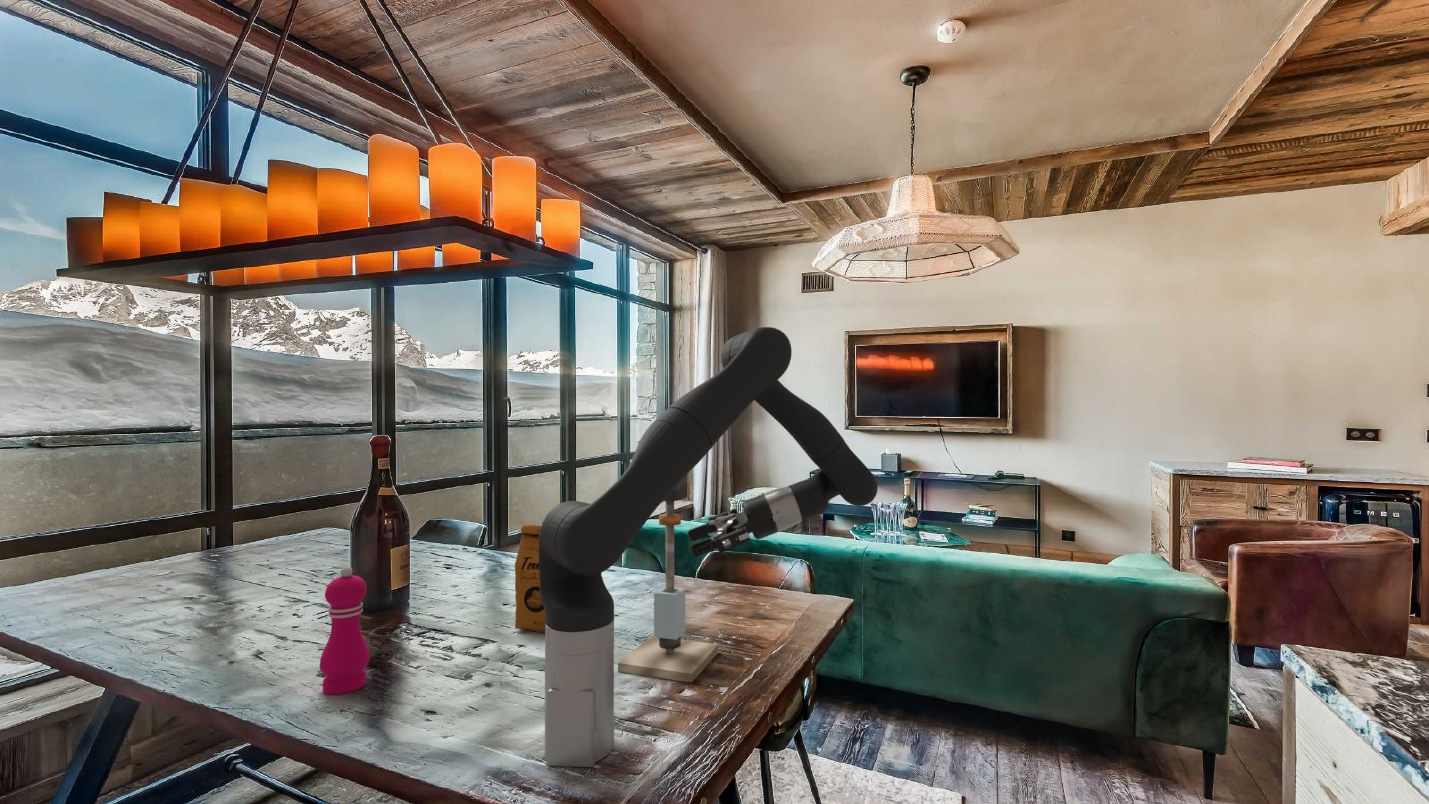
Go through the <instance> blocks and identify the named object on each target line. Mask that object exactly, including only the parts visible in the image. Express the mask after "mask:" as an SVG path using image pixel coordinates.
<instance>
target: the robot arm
mask: <svg viewBox="0 0 1429 804" xmlns="http://www.w3.org/2000/svg"><path fill="white" fill-rule="evenodd" d="M792 353H793V352H792V344H791V341H790V339H789V337H788V336H787V335H786V334H785V333H784V332H783V331H782V330H780V329H778V328H777V327H771V326H762V327H756V328H754V329H750V330H748V331H745V332H742V333H740V334H737V335H734V336H732V337H731V338H729V339H728V340H727V341H726V342H725V343H724V345H723V346H722V349H721V354H720V360H721V366H722V367H723V368H722V369H721V370H720V371H719V372H717V373H716V374H715V375H714V376H712V377H710V378H709V379H707V380H705V381H704V382H702V383H700V384H699V385H697V386H696V387H694V388H693V389H691V390H690V391H688V392H686V393H685V394H684V395H682V396H681V397H679V398H678V399H676V400H675V401H674V402H673V403H672V404H671V405H669V406H668V407H667V408H666V409H665V410H664V411H663V412H662V413H661V414H660V415H659V416H658V417H657V418H656V419H655V420H654V421H653V422H652V423H651V424H650V425H649V426H648V427H647V429H646V430H645V431H644V433H643V434H642V436H641V438H640V440H639V442H638V444H637V446H636V449H635V451H634V454H633V456H632V458H631V461H630V463H629V465H628V467H627V469H626V470H625V471H624V472H623V474H622V475H621V476H620V477H619V478H618V479H617V481H615V482H614V483H613V484H612V485H611V486H610V487H609V488H608V489H607V490H606V491H605V492H604V493H602V494H601V495H600V496H599V497H598V498H597V499H596V500H594V501H593V502H592V503H589V502H583V501H578V500H568V501H567V500H566V501H564V502H561V503H558V504H556V506H554V507H552V508H551V510H549V512H547V514H546V516H545V517H544V519H543V521H542V524H541V525H540V526H541V530H540V535H539V579H540V596H541V600H542V604H543V607H544V610H545V623H546V624H545V633H544V634H545V635H544V637H545V638H544V639H545V640H544V642H545V644H544V645H545V646H544V657H545V658H544V755H545V757H546V759H545V761H546V763H545V765H546V766H548V767H549V766H554V767H573V768H574V767H575V768H576V767H578V768H579V767H580V768H585V767H586V768H593V767H594V766H595V764H596V763H597V762H598V761H600V760H602V759H604V758H605V757H607V756H608V755H609V754H610V753H611V752H612V751H613V748H614V747H615V745H614V744H615V736H614V735H615V728H614V727H615V714H614V713H615V670H614V669H615V602H614V598H613V596H612V595H611V592H609V590H608V588H607V587H606V585H605V582H604V579H603V576H602V573H604V572H605V571H607V570H609V569H610V568H611V567H612V566H613V565H614V564H615V563H617V561H618V560H619V559H620V558H621V556H623V554H624V553H625V552H626V550H627V549H628V547H629V546H630V544H632V542H633V540H634V539H635V538H636V536H637V535H638V534H639V532H640V531H641V530H642V528H643V527H644V525H645V524H646V522H647V521H648V520H649V519H650V517H651V515H653V513H654V512H655V511H656V510H657V509H658V507H659V506H660V504H662V502H663V501H665V500H664V499H665V498H666V497H667V496H668V495H669V494H670V493H671V492H672V491H673V489H674V488H675V487H676V486H677V485H678V484H679V483H680V481H681V480H682V479H683V478H684V477H685V476H686V475H687V476H688V474H689V473H690V472H691V471H692V470H693V469H694V468H695V467H696V466H697V465H698V463H700V461H701V460H702V459H704V457H705V456H706V455H707V454H708V453H709V451H711V450H712V448H713V447H714V446H715V444H716V443H717V442H718V441H719V440H720V439H721V437H722V436H723V435H724V434H725V433H726V432H727V431H728V430H729V429H730V427H731V426H732V425H733V424H734V423H735V422H736V421H737V420H738V419H739V417H740V416H741V415H742V414H743V412H744V411H745V410H747V408H748V407H749V406H750V405H751V404H752V403H753V402H754V401H755V403H757V404H758V405H759V406H760V407H761V408H763V409H764V410H765V412H767V414H769V415H770V416H771V417H772V418H773V419H774V420H776V421H777V423H778V424H779V425H780V426H782V427H783V428H784V429H785V430H786V431H787V432H788V434H789V435H790V436H791V437H792V438H793V439H794V440H795V442H797V444H798V446H800V448H801V449H802V450H803V452H805V454H806V455H807V457H809V459H810V460H811V461H812V462H813V464H815V465H816V467H817V468H819V469H820V470H818V471H817V472H815V473H814V474H813V475H811V476H810V477H809V478H807V479H804V480H800V481H798V482H796V483H793V484H790V485H787V486H783V487H779V488H775V489H772V490H771V491H767V492H765V493H762V494H759V495H757V496H755V497H752V498H749V499H746V500H744V501H742V503H741V504H742V505H741V506H742V509H743V511H742V512H738V510H737V508H732V509H729V510H727V511H723V512H721V513H718V514H716V515H713V516H710V517H708V518H707V520H706V521H705V523H703V524H701V525H699V526H696V527H692V528H690V529H688V531H687V534H688V537H689V539H690V540H689V541H691V542H693V543H692V544H691V545H690V549H691V552H692V555H693V556H694V557H699V556H701V555H705V554H706V553H709V552H712V551H715V552H718V553H719V554H722V553H724V552H727V551H730V550H733V549H735V548H737V547H739V546H742V545H744V544H747V543H749V542H751V537H750V534H752V535H753V538H754V539H755V540H761V539H763V538H766V537H769V536H772V535H774V534H777V533H780V532H783V531H784V530H787V529H790V528H792V527H794V526H795V525H797V524H799V523H802V522H804V521H807V520H810V519H812V518H815V517H817V516H819V515H822V514H824V513H825V512H827V510H828V508H829V501H830V500H833V498H836V497H837V496H841V498H842V499H843V500H844V501H846V502H847V503H848V504H850V505H852V506H856V507H863V506H867V505H869V504H870V503H872V502H873V501H874V499H875V498H876V496H877V494H878V490H879V489H878V487H879V486H878V482H877V479H876V477H875V476H874V474H873V473H872V471H871V470H870V469H869V468H868V466H866V465H865V464H864V462H863V461H862V460H861V459H860V458H859V457H858V455H856V454H855V453H854V452H853V450H852V449H851V448H850V446H849V445H848V444H847V443H846V440H844V437H843V436H842V435H841V434H840V432H839V431H838V429H836V427H835V426H834V425H833V424H832V422H831V421H830V420H829V419H828V418H827V416H826V415H824V414H823V413H822V412H821V411H820V410H818V409H817V408H816V407H814V406H812V405H811V404H809V403H808V402H807V401H805V400H803V399H802V398H800V397H799V396H798V395H796V394H795V393H793V392H792V391H791V390H790V389H788V388H787V387H785V385H783V383H782V382H780V380H779V379H780V378H781V377H782V376H783V375H784V374H785V373H786V372H787V369H788V368H789V366H790V363H791V361H792ZM710 535H712V536H710ZM709 536H710V537H709ZM706 537H707V538H706ZM704 538H705V539H704ZM701 539H702V540H701ZM698 540H699V541H698ZM695 541H696V542H695ZM694 542H695V543H694Z"/></svg>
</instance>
